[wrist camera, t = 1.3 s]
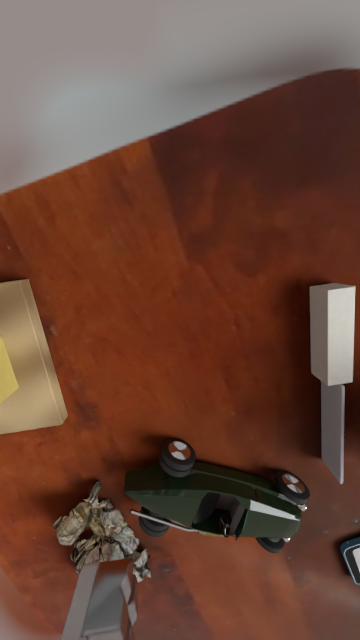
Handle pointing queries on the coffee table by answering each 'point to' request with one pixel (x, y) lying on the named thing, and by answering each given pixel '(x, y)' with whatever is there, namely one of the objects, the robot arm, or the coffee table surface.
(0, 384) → the butter slice
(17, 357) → the butter board
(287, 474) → the toy car
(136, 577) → the robot arm
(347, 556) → the smartphone
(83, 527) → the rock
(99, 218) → the coffee table surface
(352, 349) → the knife
